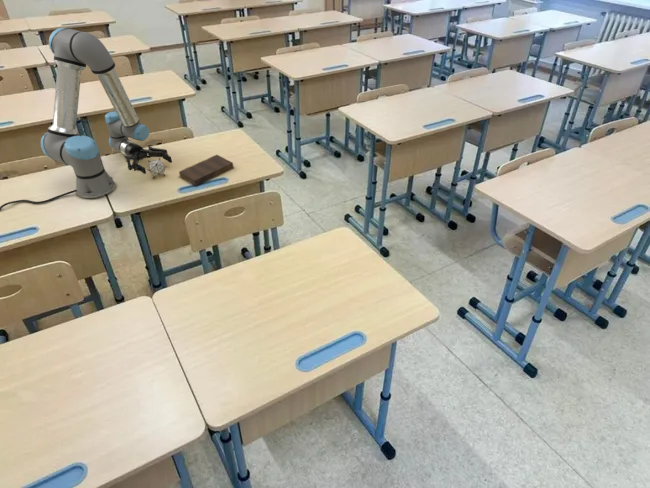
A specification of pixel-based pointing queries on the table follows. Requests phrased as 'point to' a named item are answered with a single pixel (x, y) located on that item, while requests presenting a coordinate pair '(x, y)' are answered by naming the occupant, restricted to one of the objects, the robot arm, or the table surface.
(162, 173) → the grey spiked polyhedron
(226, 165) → the walnut board
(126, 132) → the robot arm
